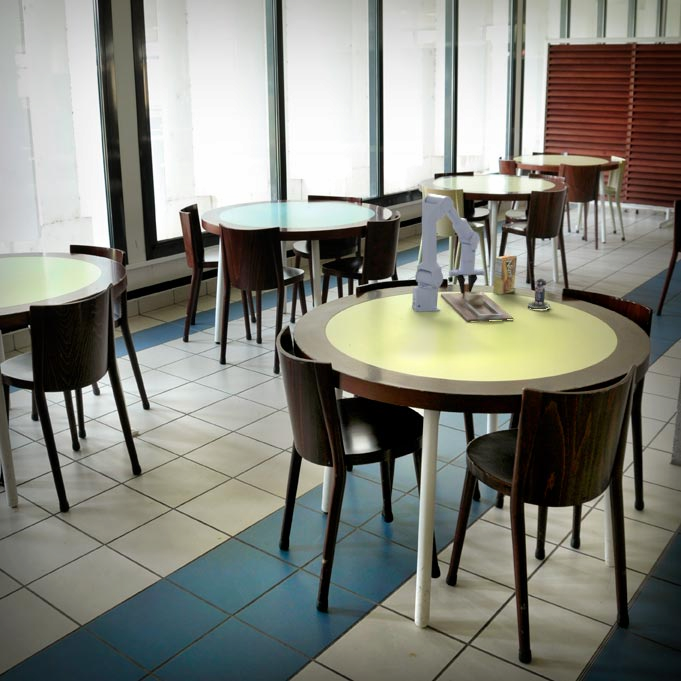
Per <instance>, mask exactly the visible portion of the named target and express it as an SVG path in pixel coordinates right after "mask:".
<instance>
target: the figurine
mask: <svg viewBox="0 0 681 681" xmlns="http://www.w3.org/2000/svg"><path fill="white" fill-rule="evenodd" d="M546 285H547V281H546V280H545V279H543V278H539V279H537V280H536V284H535V289H534V292H535V293H534V301H532V302H529V303H528V304H527V309H529V308H531V309H546V308H548V307H550V308H551V304H550V303H548V302H547V301H545V298H546ZM531 309H530V310H531Z"/></svg>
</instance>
